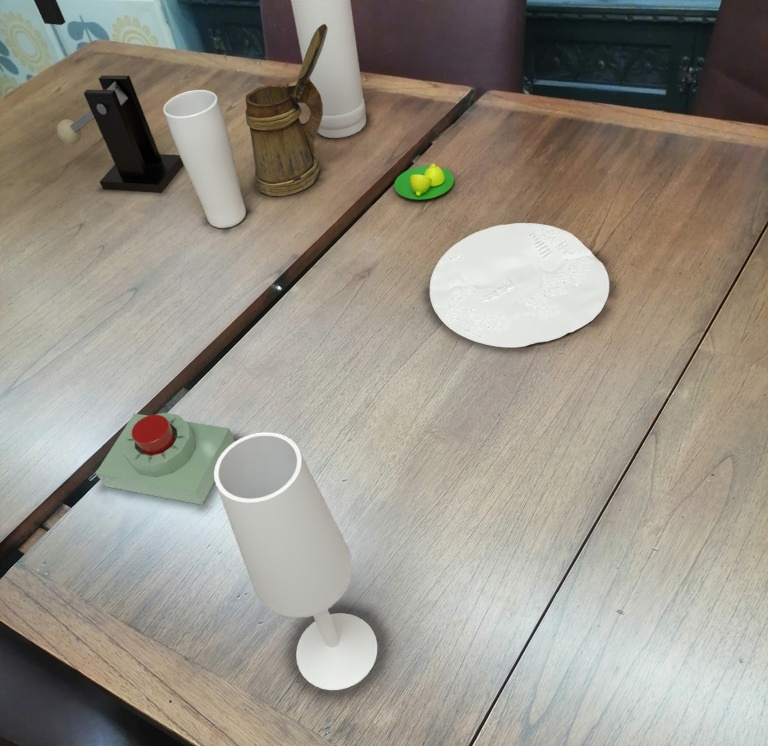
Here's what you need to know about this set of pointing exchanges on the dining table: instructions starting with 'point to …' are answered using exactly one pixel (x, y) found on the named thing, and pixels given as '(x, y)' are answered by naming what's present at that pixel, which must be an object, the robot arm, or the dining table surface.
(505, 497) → the dining table surface
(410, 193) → the lemon
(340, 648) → the champagne flute
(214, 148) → the drinking glass
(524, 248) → the plaque
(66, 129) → the lever
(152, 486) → the control block
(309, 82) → the wooden mug
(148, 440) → the button
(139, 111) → the lever bracket
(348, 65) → the bottle
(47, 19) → the robot arm
